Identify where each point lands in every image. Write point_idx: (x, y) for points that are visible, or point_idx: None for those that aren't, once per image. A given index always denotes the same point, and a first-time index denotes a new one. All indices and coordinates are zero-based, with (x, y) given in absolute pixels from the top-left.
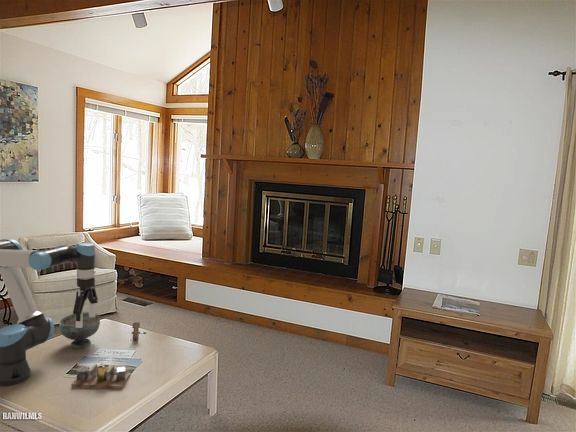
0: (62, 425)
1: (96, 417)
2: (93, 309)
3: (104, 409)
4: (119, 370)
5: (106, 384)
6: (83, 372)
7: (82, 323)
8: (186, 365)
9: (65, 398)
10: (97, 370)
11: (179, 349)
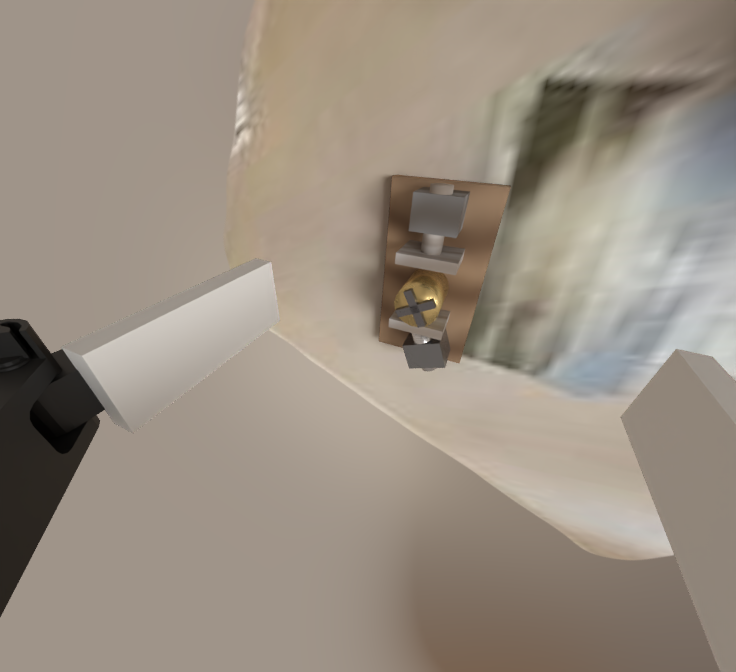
0: (224, 228)
1: None
2: (685, 533)
3: (294, 307)
4: (414, 352)
5: (389, 302)
6: (410, 224)
7: (251, 341)
8: (509, 483)
9: (325, 184)
10: (405, 284)
11: None
